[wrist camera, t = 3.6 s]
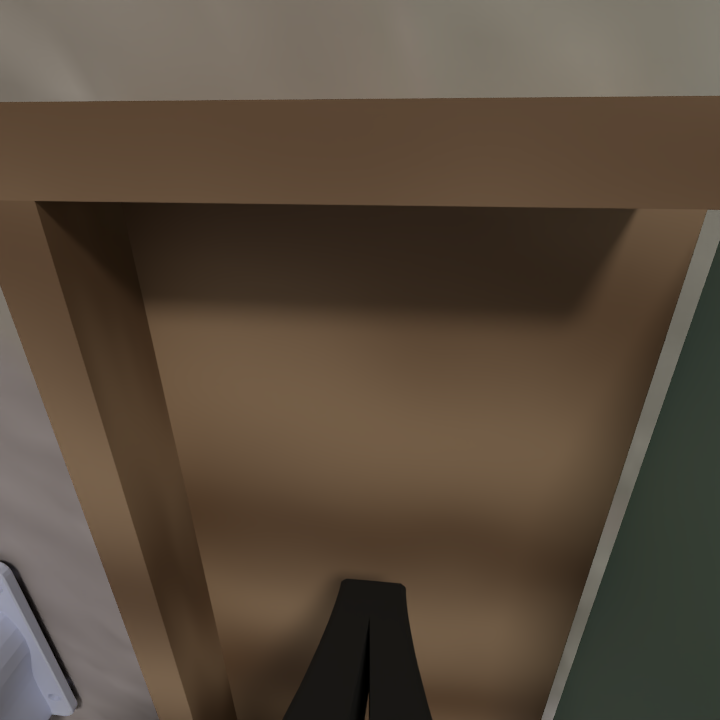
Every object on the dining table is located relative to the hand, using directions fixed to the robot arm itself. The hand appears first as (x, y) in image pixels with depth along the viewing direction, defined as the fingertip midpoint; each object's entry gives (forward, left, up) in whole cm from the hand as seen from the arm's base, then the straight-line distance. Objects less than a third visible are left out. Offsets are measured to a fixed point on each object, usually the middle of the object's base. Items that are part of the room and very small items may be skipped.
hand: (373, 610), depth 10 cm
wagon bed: (0, 0, -3) cm, 4 cm away
